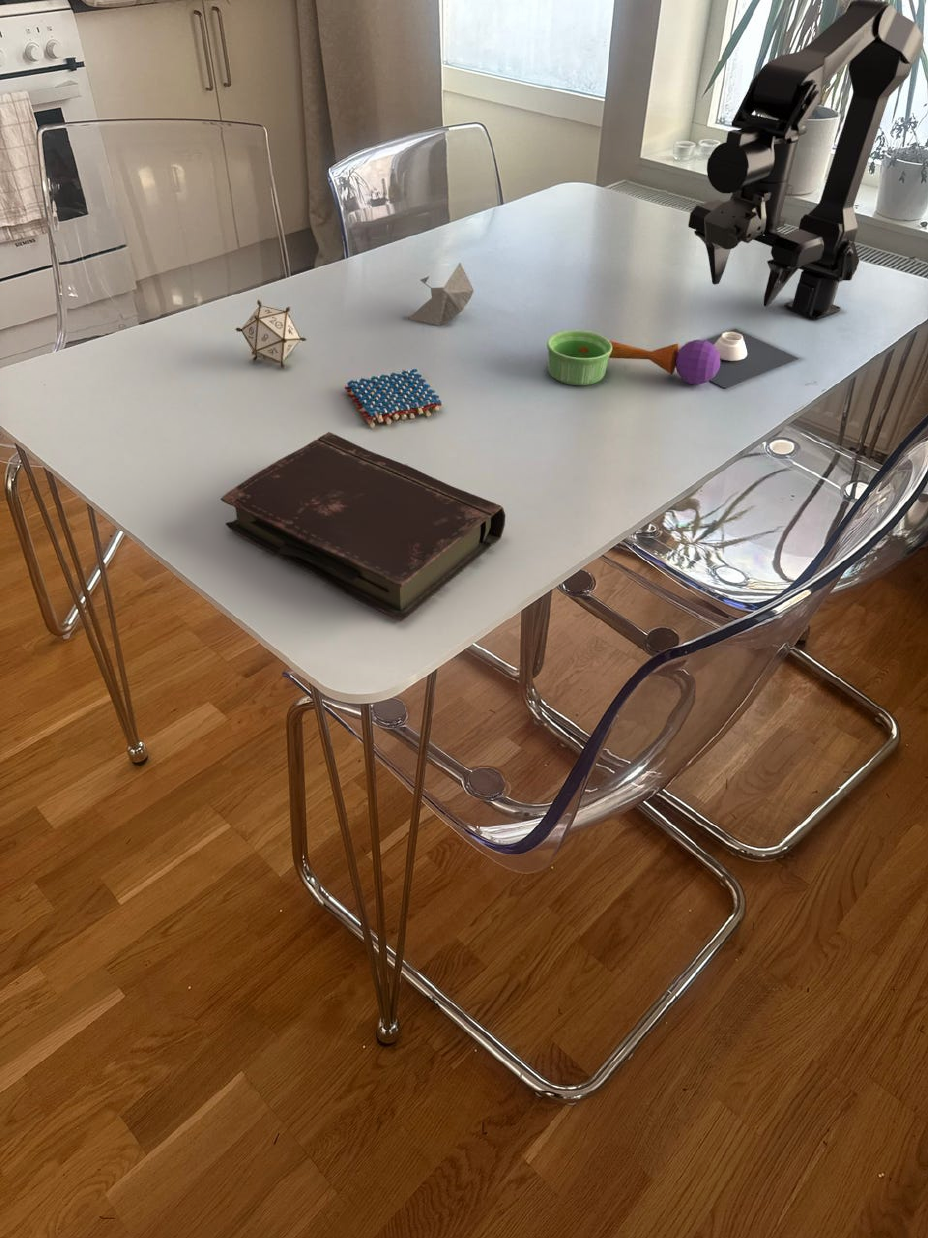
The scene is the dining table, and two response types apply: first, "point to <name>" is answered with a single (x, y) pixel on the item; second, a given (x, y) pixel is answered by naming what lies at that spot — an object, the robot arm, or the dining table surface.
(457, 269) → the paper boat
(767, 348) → the slate mat
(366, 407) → the woven mat
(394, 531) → the diary
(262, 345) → the game die
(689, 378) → the kendama
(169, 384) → the dining table surface
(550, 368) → the ramekin
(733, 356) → the white jar
